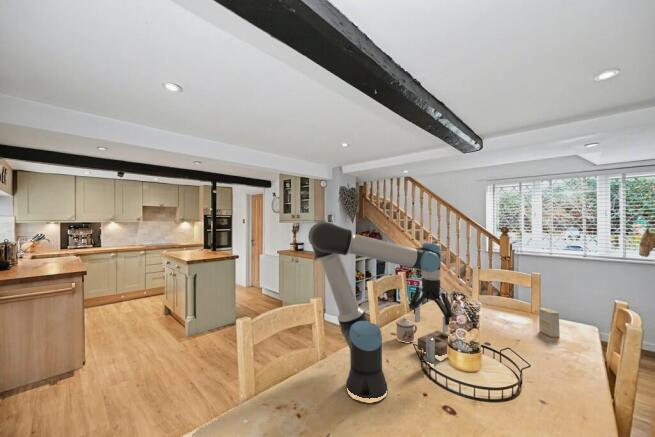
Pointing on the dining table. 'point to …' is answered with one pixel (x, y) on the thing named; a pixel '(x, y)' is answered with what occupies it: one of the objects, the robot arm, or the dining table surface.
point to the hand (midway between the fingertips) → (430, 326)
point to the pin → (430, 350)
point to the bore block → (439, 342)
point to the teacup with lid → (405, 330)
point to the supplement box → (549, 322)
